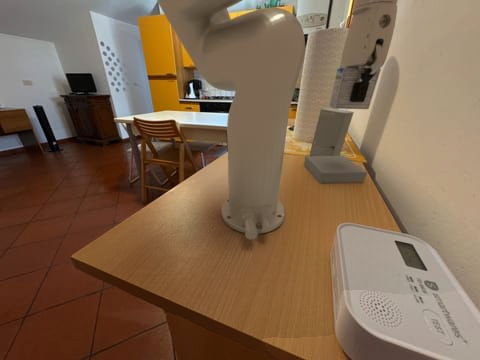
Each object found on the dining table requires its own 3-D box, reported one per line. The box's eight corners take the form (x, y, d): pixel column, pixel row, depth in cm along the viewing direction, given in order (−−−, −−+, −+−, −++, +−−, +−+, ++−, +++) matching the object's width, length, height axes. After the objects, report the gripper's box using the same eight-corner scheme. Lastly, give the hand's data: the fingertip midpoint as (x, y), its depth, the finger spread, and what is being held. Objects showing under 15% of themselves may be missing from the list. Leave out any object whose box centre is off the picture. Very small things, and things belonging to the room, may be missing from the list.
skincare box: (309, 155, 69) (317, 108, 62) (319, 151, 73) (329, 106, 66) (331, 162, 63) (344, 111, 56) (341, 157, 68) (354, 109, 60)
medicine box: (360, 107, 50) (371, 68, 45) (369, 109, 46) (381, 67, 42) (328, 106, 50) (336, 68, 46) (334, 109, 46) (343, 67, 42)
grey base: (363, 182, 51) (367, 172, 50) (319, 183, 51) (321, 172, 49) (340, 164, 62) (343, 155, 60) (303, 164, 61) (305, 156, 60)
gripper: (432, -15, 31) (390, 104, 40) (366, 15, 46) (346, 97, 55) (387, -17, 31) (354, 104, 39) (335, 14, 46) (320, 97, 54)
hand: (349, 99), depth 47 cm, fingers closed on medicine box, 5 cm apart
